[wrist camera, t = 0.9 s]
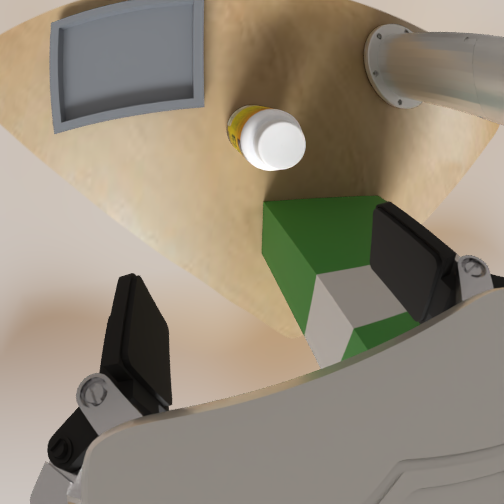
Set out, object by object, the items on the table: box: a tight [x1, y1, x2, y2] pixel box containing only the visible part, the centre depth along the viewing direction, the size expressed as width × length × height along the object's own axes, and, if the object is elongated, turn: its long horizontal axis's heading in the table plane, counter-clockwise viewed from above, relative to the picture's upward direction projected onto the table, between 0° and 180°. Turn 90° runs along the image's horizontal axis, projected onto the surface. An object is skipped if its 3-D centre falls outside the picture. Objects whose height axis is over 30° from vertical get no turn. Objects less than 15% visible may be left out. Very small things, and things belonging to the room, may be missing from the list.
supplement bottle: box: [227, 105, 306, 171], centre depth 24 cm, size 6×6×10 cm
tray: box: [50, 0, 204, 134], centre depth 20 cm, size 16×13×2 cm
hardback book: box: [262, 196, 461, 369], centre depth 28 cm, size 18×7×24 cm, turn 88°
